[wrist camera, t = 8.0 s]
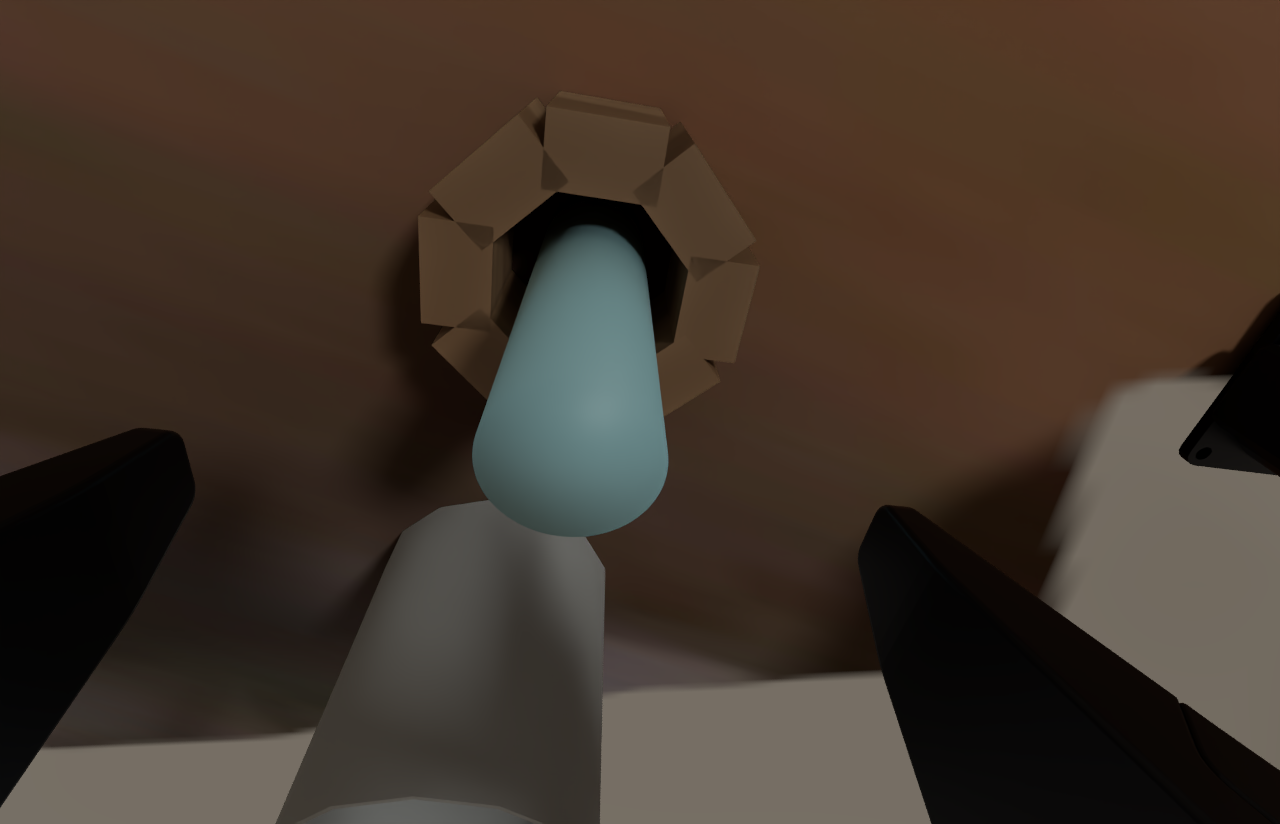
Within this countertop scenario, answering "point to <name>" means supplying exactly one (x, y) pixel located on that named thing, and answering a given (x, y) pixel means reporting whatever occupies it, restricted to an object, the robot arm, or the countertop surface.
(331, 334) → the countertop surface
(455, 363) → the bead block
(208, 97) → the countertop surface
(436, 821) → the cup
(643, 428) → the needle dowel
